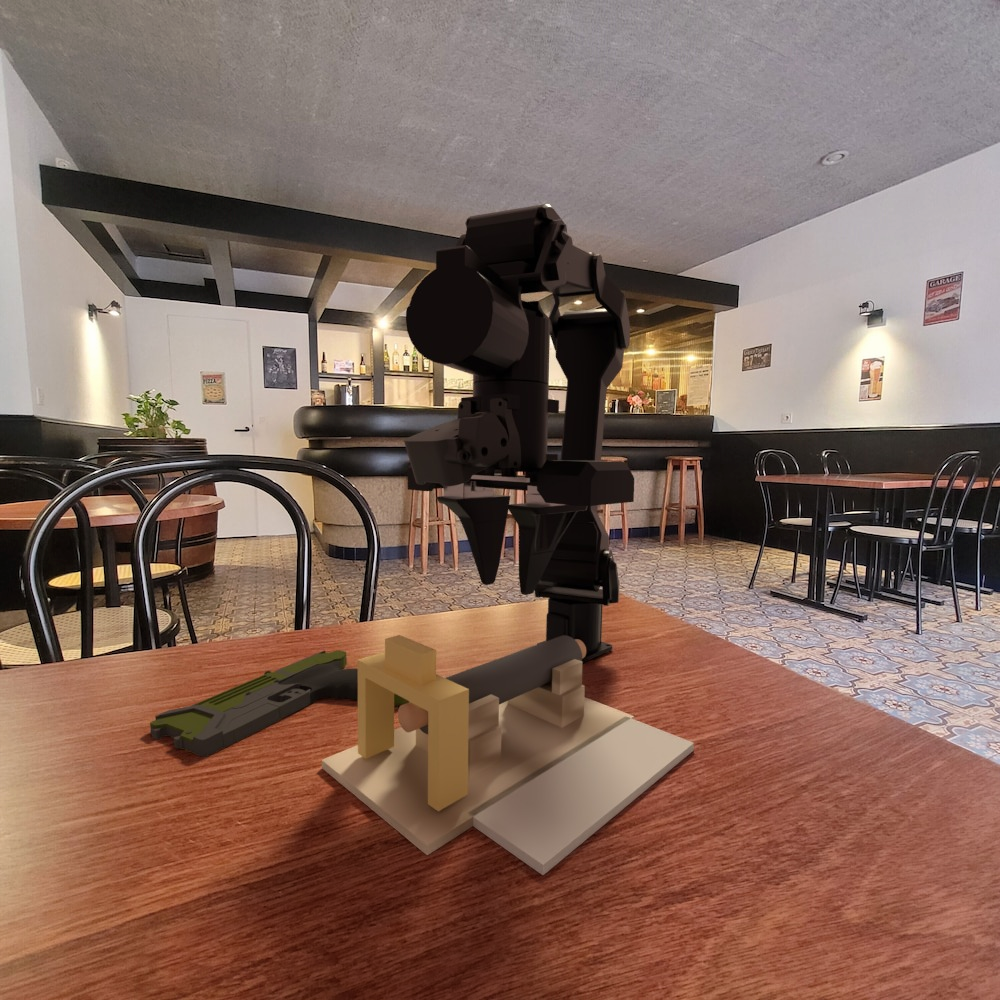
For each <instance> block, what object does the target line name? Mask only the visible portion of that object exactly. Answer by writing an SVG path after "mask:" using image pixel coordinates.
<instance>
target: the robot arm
mask: <svg viewBox="0 0 1000 1000" xmlns="http://www.w3.org/2000/svg"><path fill="white" fill-rule="evenodd" d="M464 224H465V228H466V231H465V233H464V234H461V235H460V237H459V238H458V240H457V243H456V244H455V246H452V247H451V246H450V247H445V248H437V250H436V253H435V269H433V270H432V271H431V272H430V273H428V274H426V276H424V277H423V279H422V280H421V281H420V282H419V284H418V285H417V286H416V287H415V290H414V291H413V293H412V295H411V298H410V302H409V305H408V307H406V310H405V324H406V332H407V334H408V337H409V340H410V342H411V344H412V345H413V346H414V348H415V350H416V352H418V353H419V354H420V355H421V356H422V357H424V358H425V359H426V360H428V361H431V362H433V363H436V364H439V365H442V366H445V367H448V368H451V369H454V370H457V371H460V372H464V373H467V374H469V375H472V396H467V397H466V396H465V397H460V402H458V407H457V418H456V419H453V420H451V421H447V422H443V423H440V424H437V425H435V426H433V427H430V428H429V429H426V430H423V431H421V432H418V433H416V434H414V435H411V436H408V437H406V438H405V439H404V440H403V443H404V446H405V450H406V452H407V453H406V454H407V455H408V459H409V463H410V464H409V465H408V467H407V490H408V491H410V490H411V491H421V492H433V491H434V490H435V489H443V496H442V495H441V496H436V497H435V498H436V500H437V502H438V503H439V504H443V505H445V506H446V507H447V508H448V509H449V511H451V512H452V513H454V514H455V516H456V517H458V519H459V521H460V523H461V526H462V528H463V530H464V533H465V535H466V538H467V539H466V540H467V541H468V544H469V548H470V551H471V554H472V557H473V559H474V563H475V566H476V569H477V573H478V575H479V579H480V581H481V584H482V585H485V586H488V585H493V584H494V583H495V582H496V579H497V575H498V570H499V566H500V563H501V562H500V561H501V556H502V550H503V544H504V537H505V531H506V527H507V520H508V514H509V512H510V514H511V515H512V518H513V520H515V522H516V524H517V527H518V580H519V589H520V594H521V595H524V596H527V595H531V594H533V593H534V596H535V598H545V599H547V598H548V599H547V602H548V603H547V613H546V618H545V619H546V629H545V640H543V641H541V642H538V643H537V644H536V645H538V644H540V643H543V642H546V641H549V640H551V639H554V638H557V637H560V636H563V635H566V636H570V637H572V638H573V639H574V640H575V639H579V640H581V641H582V642H583V643H584V645H585V647H586V655H585V657H584V658H582V663H585V662H587V661H589V660H592V659H594V658H596V657H599V656H601V655H603V654H605V653H608V652H610V651H612V650H613V644H610V643H609V642H608V643H607V642H603V641H602V638H603V637H602V634H603V606H605V607H608V606H610V605H611V604H618V603H619V601H620V581H619V573H618V572H619V571H618V564H617V563H616V561H615V560H614V555H613V551H612V550H611V549H610V536H609V534H608V532H607V530H606V528H605V526H604V523H603V522H602V520H601V517H600V516H599V514H598V506H605V505H615V504H616V505H617V504H624V503H625V504H626V503H634V501H635V499H634V498H635V477H634V474H633V473H632V470H631V469H630V467H629V465H628V464H627V462H626V461H621V460H620V461H618V460H614V461H612V460H602V455H603V454H602V453H603V443H604V442H603V441H604V427H605V414H606V403H607V402H606V401H607V390H608V387H609V386H610V385H611V384H612V383H613V381H614V380H615V379H616V377H617V376H618V374H619V373H620V371H621V370H622V369H623V363H624V357H625V350H627V349H629V347H630V343H631V341H630V340H631V326H630V325H631V323H630V317H629V312H628V304H627V297H626V296H625V294H624V292H623V291H621V290H620V288H618V286H617V285H616V284H615V283H614V282H613V281H612V280H611V279H610V278H609V277H608V275H606V271H605V264H604V260H603V256H602V254H601V253H600V254H596V253H595V252H589V251H586V250H584V249H582V248H581V247H579V246H577V245H575V244H573V239H572V236H571V235H570V234H569V233H568V226H567V224H566V223H565V222H564V221H563V220H562V218H561V217H560V215H559V214H558V212H557V211H556V210H555V208H553V207H552V206H551V205H550V204H549V203H544V204H543V203H542V204H537V205H530V206H526V207H525V206H524V207H519V208H512V209H508V210H507V209H506V210H502V211H501V210H500V211H495V212H489V213H482V214H476V215H471V216H469V217H468V218H466V221H465V223H464ZM543 292H546V293H551V294H552V296H553V299H552V302H551V307H550V311H549V315H547V314H546V313H545V312H544V311H543V308H542V307H541V303H540V301H539V300H533V301H532V300H531V301H525V300H522V294H523V295H525V294H534V293H543ZM589 295H590V296H591V295H594V297H595V299H596V302H598V303H599V304H600V305H601V306H602V307H603V308H596V309H584V310H574V311H573V310H571V311H570V310H569V311H565V312H564V313H563V314H562V315H561V313H560V309H559V307H560V304H561V300H562V298H568V297H578V296H579V297H581V296H589ZM550 341H551V342H552V346H553V348H554V351H555V359H556V360H557V363H558V364H559V367H560V369H561V371H562V373H563V374H564V377H565V379H566V380H567V381H566V382H567V383H566V395H565V406H564V416H563V417H564V418H563V428H562V438H561V441H562V442H561V449H560V450H561V451H560V460H559V459H558V458H559V455H558V454H557V453H548V432H549V431H548V430H549V429H548V428H549V415H555V414H557V415H559V414H560V400H558V399H554V398H553V399H551V398H549V390H550V388H549V387H550V386H549V384H550V383H549V382H550V380H549V379H550V349H551V348H550V345H551V344H550ZM495 470H498V471H499V470H500V471H501V472H500V473H495ZM518 473H524V475H523V474H518ZM495 489H501V490H511V491H512V490H513V491H514V490H515V491H526V494H525V502H524V503H522V502H521V503H511V504H510V501H511V495H506V494H505V495H503V494H495ZM601 588H602V589H601Z"/></svg>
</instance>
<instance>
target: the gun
mask: <svg viewBox="0 0 1000 1000" xmlns="http://www.w3.org/2000/svg"><path fill="white" fill-rule="evenodd" d="M347 663H348V662H347V651H344V650H341V649H340V650H338V649H337V650H333V651H330V652H326V650H322V651H319V652H317V653H315V654H312V655H309V656H307V657H306V658H303V659H299V660H298V661H295V662H293V663H291V664H289V665H286V666H283V667H281V668H278V669H276V670H274V671H271V670H266V671H265V672H264V673H263V674H262V675H260V676H258V677H256V678H253V679H251V680H248V681H246V682H244V683H241V684H238V685H237V686H235V687H231V688H229V689H227V690H225V691H223V692H220V693H218V694H215V695H213V696H211V697H208V698H206V699H203V700H201V701H199V702H196V703H194V704H191V705H189V706H183V707H178V708H174V709H169V710H166V711H163V712H161V713H160V714H157V715H155V717H154V718H155V719H154V720H153V721H152V720H151V721H150V723H149V726H150V735H151V736H152V739H154V740H156V741H157V740H160V739H161V738H163V737H166V736H168V737H170V738H172V739H173V747H174V748H175V749H177V750H178V749H180V750H184V751H187V752H189V753H191V754H194V755H196V756H199V757H201V758H206V757H209V756H211V755H213V754H214V753H217V752H218V751H221V750H223V749H225V748H228V747H230V746H232V745H234V744H235V743H238V742H239V741H241V740H243V739H246V738H247V737H249V736H251V735H253V734H257V732H259V731H261V730H263V729H266V728H267V727H269V726H272V725H274V724H275V723H277V722H279V721H281V720H283V719H285V718H286V717H288V716H290V715H292V714H294V713H296V712H298V711H300V710H302V709H304V708H305V707H307V706H309V705H311V704H313V703H315V702H316V701H317V700H320V699H332V700H349V701H358V667H357V668H356V667H354V668H352V667H351V668H345V667H346V666H347V665H348V664H347ZM409 702H410V701H408V700H406V699H404V698H402V697H400V696H399V695H397V694H395V693H394V707H400V706H401V705H403V704H406V703H409Z"/></svg>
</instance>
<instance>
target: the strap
mask: <svg viewBox="0 0 1000 1000" xmlns="http://www.w3.org/2000/svg"><path fill="white" fill-rule="evenodd" d="M357 668H358V700H357V745H358V754H360V755H361V756H362V757H364V758H365V759H367V758H369V757H371V756H373V755H376V754H378V753H380V752H383V751H385V750H387V749H389V748H392V747H394V730H395V706H394V693H395V694H397V695H399V696H400V697H402V698H404V699H406V700H408V701H410V702H412V703H413V704H415V705H417V706H419V707H421V708H423V709H424V710H426V711H428V805H430V806H431V807H433V808H434V809H435V810H437V811H440V810H442V809H443V808H445V807H447V806H449V805H450V804H452V803H454V802H456V801H457V800H459V799H461V798H462V797H464V796H466V795H468V726H469V689H468V688H465V687H463V686H461V685H459V684H457V683H454V682H452V681H450V680H448V679H446V678H444V676H442V675H440V674H437V649H435V648H433V647H430V646H428V645H425V644H423V643H421V642H418V641H416V640H414V639H413V640H412V639H411V638H408V637H407V636H403V635H401V634H398V635H394V636H391V637H387V638H385V639H384V651H383V652H380V653H376V654H373V655H368V656H366V657H362V658H360V659H357Z"/></svg>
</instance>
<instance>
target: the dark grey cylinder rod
mask: <svg viewBox="0 0 1000 1000" xmlns="http://www.w3.org/2000/svg"><path fill="white" fill-rule="evenodd" d="M545 641H546V640H545ZM542 642H543V641H542ZM539 643H540V642H539ZM531 646H532V647H530V646H528V647H529V648H528V647H525V648H526V649H525V648H523V649H524V650H522V649H520V650H521V651H519V650H517V651H518V652H517V651H514V652H515V653H514V652H512V653H513V654H511V653H510V654H507V655H504V656H502V657H499V658H496V659H494V660H490V661H488V662H485V663H482V664H480V665H477V666H474V667H471V668H468V669H466V670H464V671H460V672H458V673H454V674H452V675H448V676H449V677H447V676H445V677H446V679H448V680H450V681H452V682H454V683H457V684H459V685H461V686H463V687H465V688H468V689H469V703H472V702H474V701H476V700H479V699H481V698H484V697H486V696H488V695H491V694H492V695H494V696H496V697H498V698H499V704H502V703H504V702H506V701H508V700H511V699H513V698H515V697H517V696H520V695H522V694H524V693H526V692H529V691H531V690H533V689H535V688H537V687H540V686H542V685H544V684H546V683H549V682H551V681H552V669H553V668H555V667H557V666H559V665H562V664H564V663H567V662H569V661H571V660H574V659H576V660H579V661H582V658H584V657H585V655H586V647H585V645H584V643H583V642H582V641H581V640H579V639H575V640H574V639H573V638H572V637H570V636H566V635H563V636H560V637H557V638H554V639H551V640H549V641H546V642H543V643H540V644H538V645H537V644H535V645H534V646H533V645H531ZM398 707H399V708H398V710H397V718H398V722H399V725H400V727H402V728H403V730H404V731H406V732H412V731H414V730H416V729H420V730H421V731H422V732H424V733H425V734H428V711H426V710H424V709H423V708H421V707H419V706H417V705H415V704H413V703H412V702H409V703H406V704H403V705H401V706H398Z"/></svg>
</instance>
